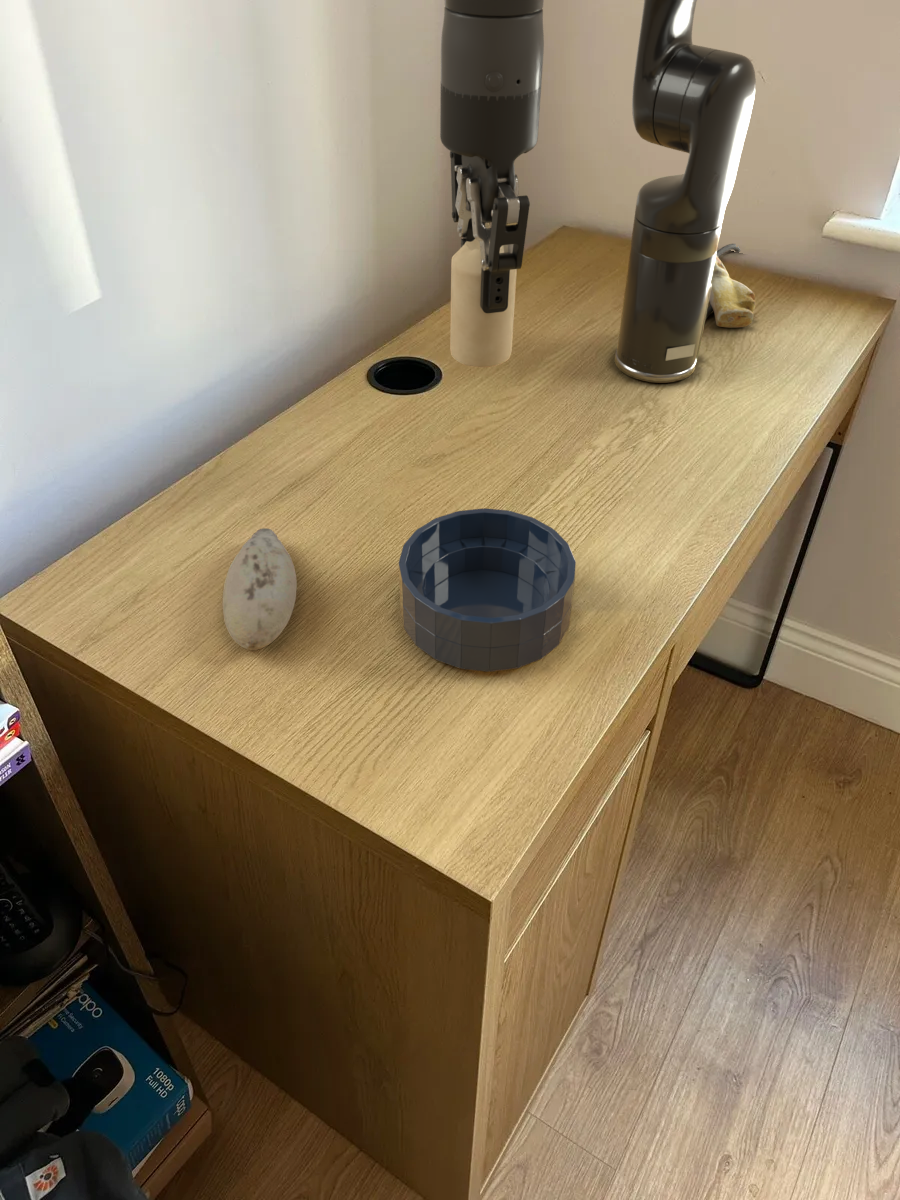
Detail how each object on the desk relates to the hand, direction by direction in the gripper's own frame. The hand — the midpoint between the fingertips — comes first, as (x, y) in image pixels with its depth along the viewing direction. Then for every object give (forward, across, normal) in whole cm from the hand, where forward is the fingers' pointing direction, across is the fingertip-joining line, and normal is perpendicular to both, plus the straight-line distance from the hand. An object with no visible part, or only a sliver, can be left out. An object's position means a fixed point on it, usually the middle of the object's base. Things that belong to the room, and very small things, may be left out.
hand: (483, 294), depth 83 cm
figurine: (+19, +31, -43) cm, 56 cm away
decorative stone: (+20, -12, +23) cm, 33 cm away
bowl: (+20, -18, +5) cm, 28 cm away
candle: (+6, 0, 0) cm, 6 cm away
